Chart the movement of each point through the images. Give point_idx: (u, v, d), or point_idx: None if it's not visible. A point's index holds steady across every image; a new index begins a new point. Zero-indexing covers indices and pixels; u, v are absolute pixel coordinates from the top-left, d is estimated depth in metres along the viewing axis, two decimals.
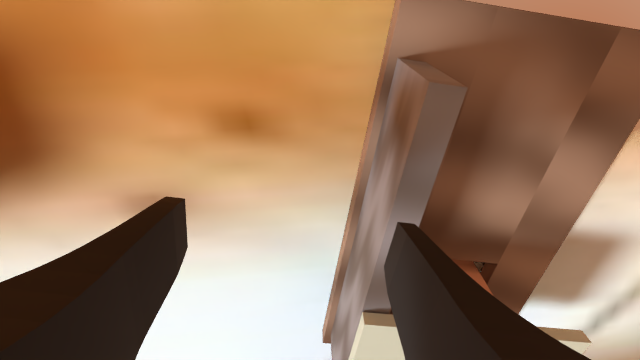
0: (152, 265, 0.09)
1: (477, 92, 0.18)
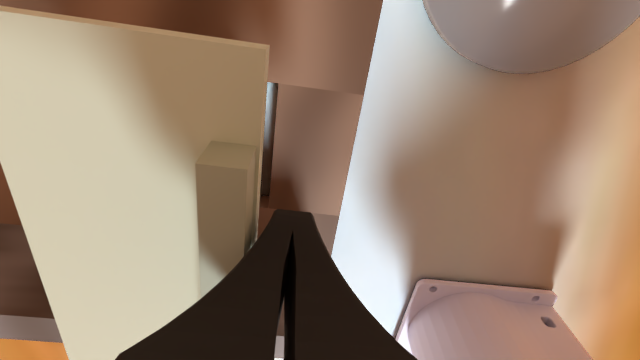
0: (284, 278, 0.09)
1: None
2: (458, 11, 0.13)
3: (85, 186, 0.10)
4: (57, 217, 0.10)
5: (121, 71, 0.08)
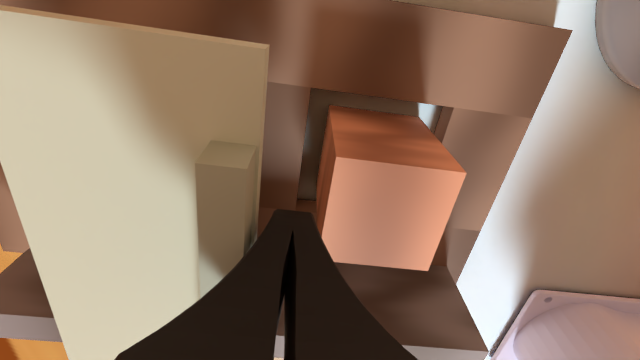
0: (284, 278, 0.09)
1: None
2: (638, 41, 0.14)
3: (85, 185, 0.10)
4: (57, 216, 0.10)
5: (121, 70, 0.08)
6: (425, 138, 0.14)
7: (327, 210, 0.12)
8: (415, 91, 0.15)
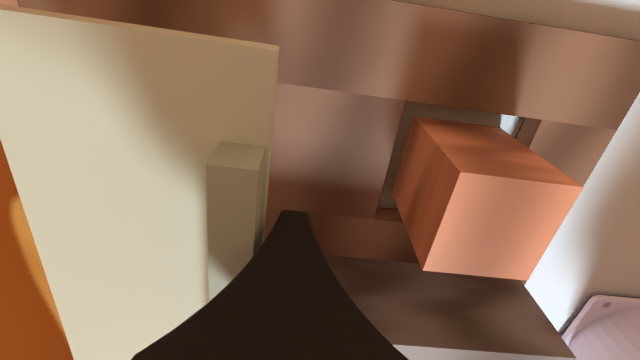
0: None
1: None
2: None
3: (93, 187, 0.10)
4: (64, 217, 0.10)
5: (131, 72, 0.08)
6: (522, 150, 0.14)
7: (441, 223, 0.12)
8: (507, 104, 0.15)
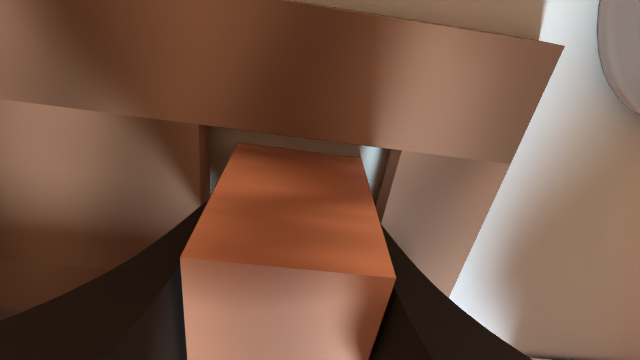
0: None
1: None
2: None
3: None
4: None
5: None
6: (354, 201, 0.10)
7: (186, 327, 0.08)
8: (346, 129, 0.11)
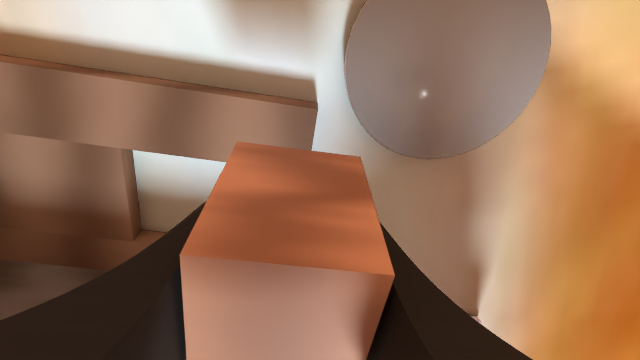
0: None
1: None
2: (375, 116, 0.18)
3: None
4: None
5: None
6: (354, 199, 0.10)
7: (186, 324, 0.08)
8: (206, 152, 0.18)
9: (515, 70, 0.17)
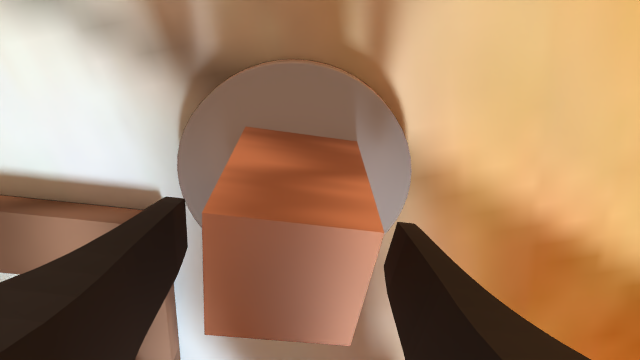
0: (152, 266, 0.09)
1: None
2: None
3: None
4: None
5: None
6: (350, 174, 0.11)
7: (205, 277, 0.09)
8: None
9: (375, 185, 0.15)
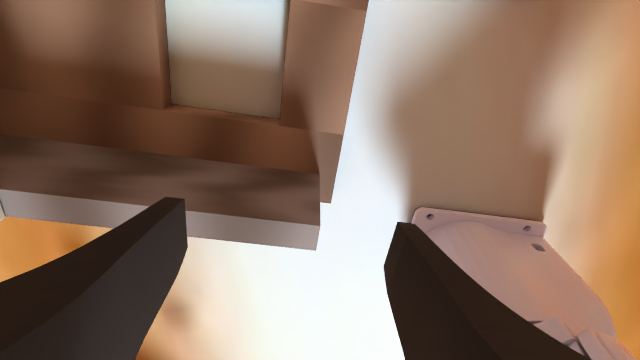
0: (152, 265, 0.09)
1: None
2: None
3: None
4: None
5: None
6: None
7: None
8: None
9: None
